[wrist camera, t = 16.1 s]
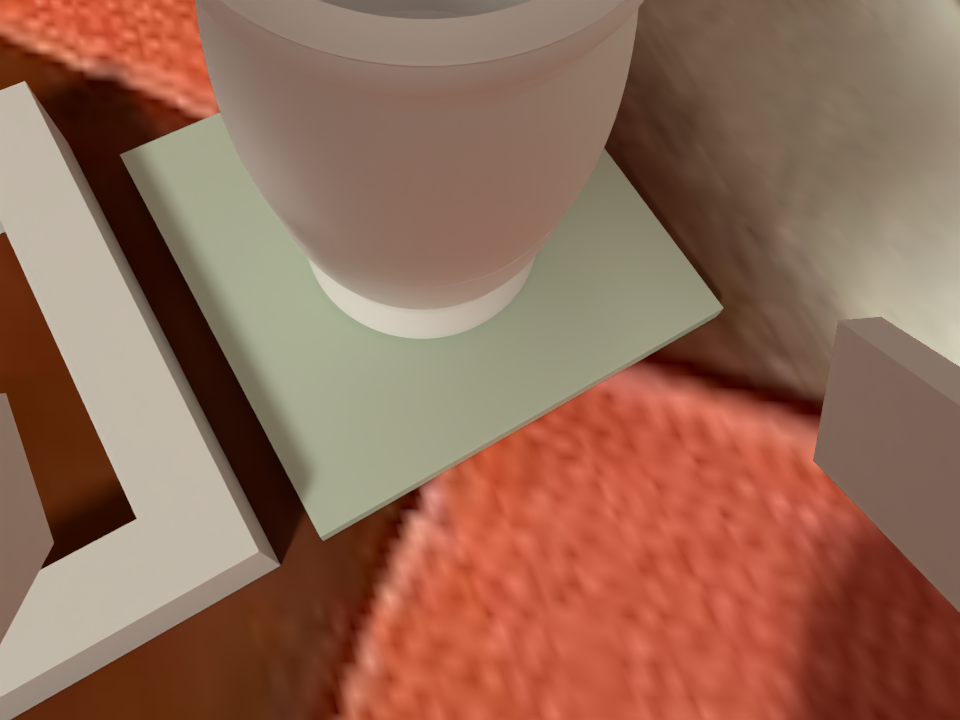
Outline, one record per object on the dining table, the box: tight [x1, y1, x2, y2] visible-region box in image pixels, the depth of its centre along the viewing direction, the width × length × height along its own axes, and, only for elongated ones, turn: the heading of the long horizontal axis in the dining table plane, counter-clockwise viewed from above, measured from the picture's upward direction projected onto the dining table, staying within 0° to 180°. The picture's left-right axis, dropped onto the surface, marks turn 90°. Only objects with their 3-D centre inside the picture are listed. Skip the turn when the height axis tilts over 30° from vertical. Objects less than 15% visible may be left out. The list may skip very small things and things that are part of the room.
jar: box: [195, 0, 644, 339], centre depth 22 cm, size 11×10×15 cm
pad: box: [120, 113, 723, 541], centre depth 29 cm, size 16×16×1 cm
